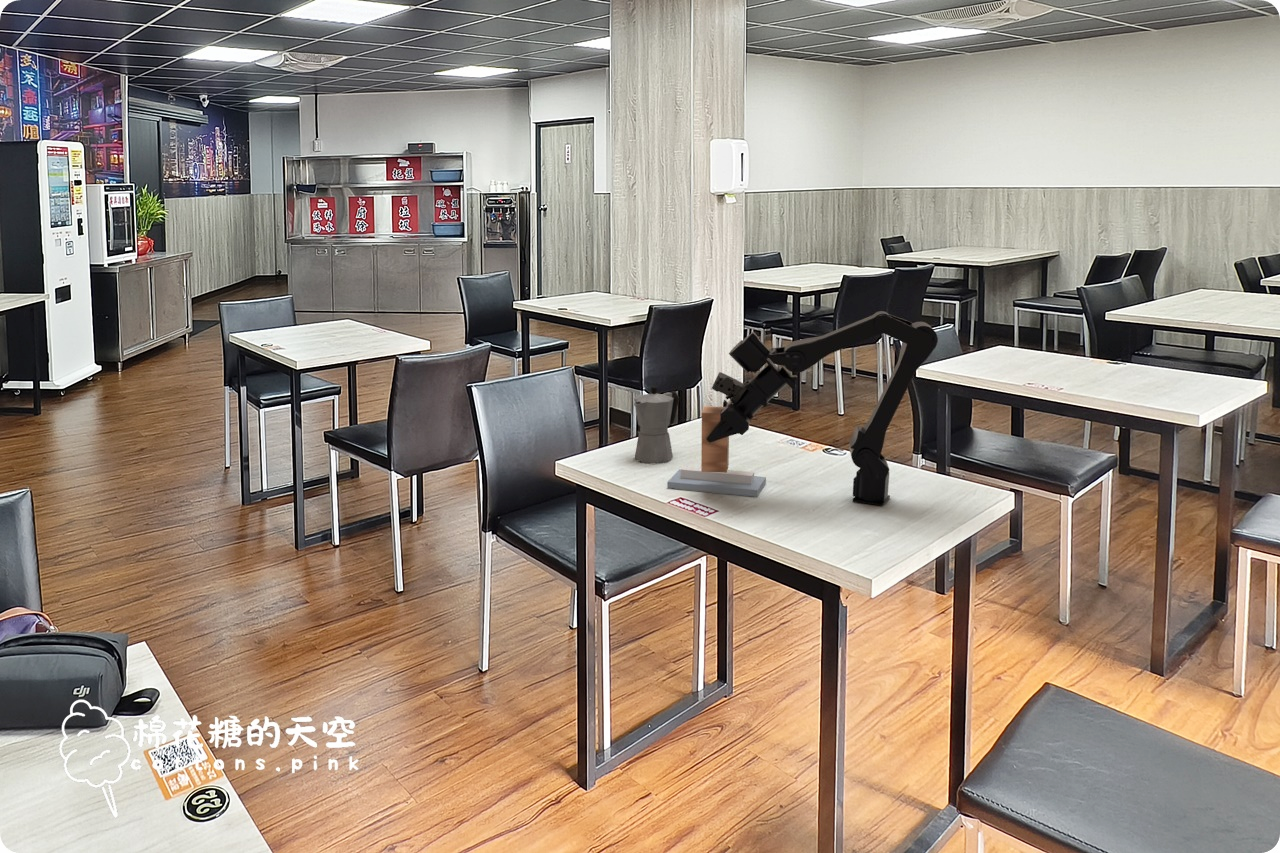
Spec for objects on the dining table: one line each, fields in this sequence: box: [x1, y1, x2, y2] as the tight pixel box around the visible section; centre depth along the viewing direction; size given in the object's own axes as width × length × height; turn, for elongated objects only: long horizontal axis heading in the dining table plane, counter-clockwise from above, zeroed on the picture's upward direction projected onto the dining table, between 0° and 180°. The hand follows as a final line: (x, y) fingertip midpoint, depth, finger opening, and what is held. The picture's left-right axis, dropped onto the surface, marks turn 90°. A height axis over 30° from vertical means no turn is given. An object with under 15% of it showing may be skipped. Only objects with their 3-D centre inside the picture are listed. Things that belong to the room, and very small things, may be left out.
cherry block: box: [700, 405, 730, 473], centre depth 215 cm, size 5×5×13 cm
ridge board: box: [666, 465, 767, 498], centre depth 223 cm, size 20×10×4 cm, turn 72°
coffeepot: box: [633, 385, 680, 464], centre depth 243 cm, size 15×9×18 cm, turn 137°
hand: (708, 437), depth 215 cm, fingers closed on cherry block, 5 cm apart
